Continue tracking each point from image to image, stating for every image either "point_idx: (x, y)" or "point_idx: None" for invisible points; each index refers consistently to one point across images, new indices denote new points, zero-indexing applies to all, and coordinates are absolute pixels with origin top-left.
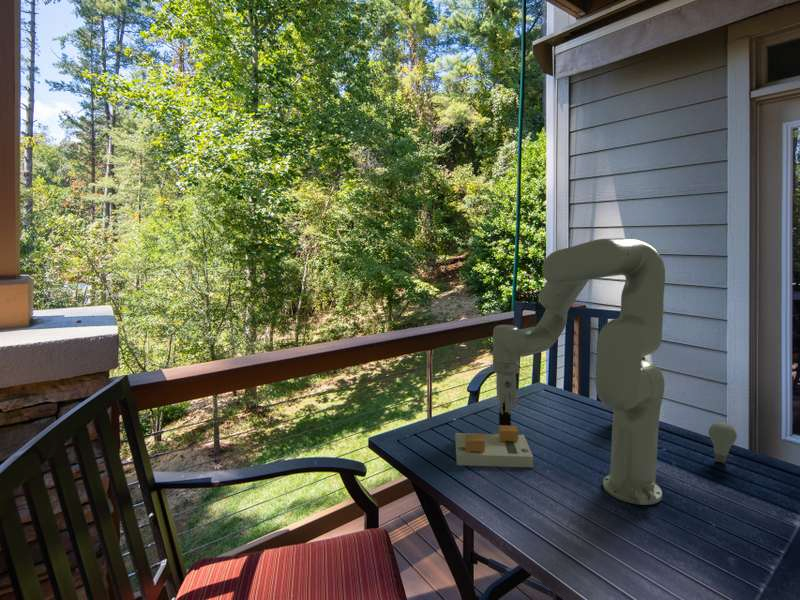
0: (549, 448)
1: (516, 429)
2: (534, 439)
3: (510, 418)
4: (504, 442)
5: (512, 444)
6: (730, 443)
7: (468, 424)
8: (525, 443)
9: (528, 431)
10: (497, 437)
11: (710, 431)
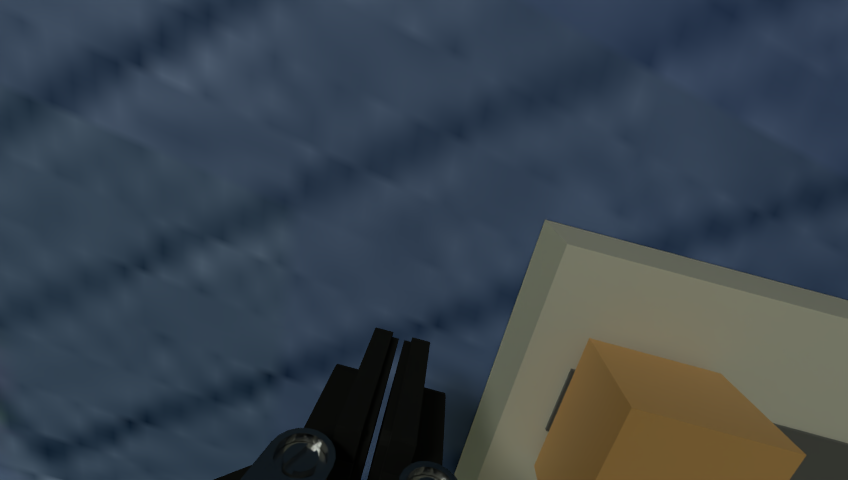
0: (689, 25)
1: (746, 453)
2: (475, 81)
3: (421, 398)
4: None
5: None
6: None
7: (150, 444)
8: (762, 316)
9: (302, 58)
10: None
11: None
